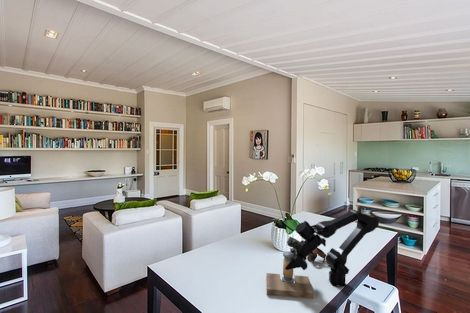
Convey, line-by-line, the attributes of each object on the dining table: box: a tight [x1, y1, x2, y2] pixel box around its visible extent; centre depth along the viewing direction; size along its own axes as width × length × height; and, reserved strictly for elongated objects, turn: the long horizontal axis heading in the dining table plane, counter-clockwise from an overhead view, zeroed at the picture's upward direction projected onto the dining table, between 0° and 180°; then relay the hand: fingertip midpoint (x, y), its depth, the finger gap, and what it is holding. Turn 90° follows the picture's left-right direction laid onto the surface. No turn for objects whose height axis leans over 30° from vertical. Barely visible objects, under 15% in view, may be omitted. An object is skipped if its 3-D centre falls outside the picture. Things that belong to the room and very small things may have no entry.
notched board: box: [265, 272, 315, 300], centre depth 114 cm, size 20×14×2 cm
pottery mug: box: [306, 247, 327, 264], centre depth 142 cm, size 12×9×8 cm
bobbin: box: [281, 251, 295, 283], centre depth 117 cm, size 6×6×13 cm
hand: (285, 266), depth 117 cm, fingers closed on bobbin, 5 cm apart
